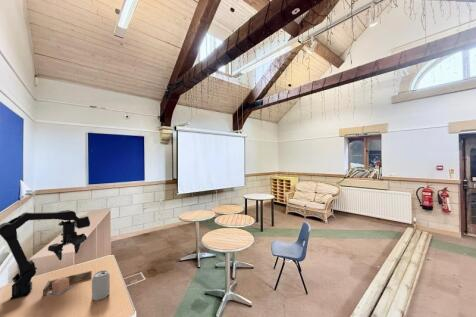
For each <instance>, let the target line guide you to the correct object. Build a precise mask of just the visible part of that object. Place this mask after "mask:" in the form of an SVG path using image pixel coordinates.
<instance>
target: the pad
mask: <svg viewBox="0 0 476 317" xmlns="http://www.w3.org/2000/svg"><path fill="white" fill-rule="evenodd" d="M71 288H73V286H71V285H69V288H67V289H66V290H64V291H62V292H60V293H55V292H52V290H51V291H50V292H49V291H48V294H52V295H57V296H60V295H61V294H63V293H65V292H66V291H68V290H69V289H71Z"/></svg>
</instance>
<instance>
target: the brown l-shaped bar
mask: <svg viewBox="0 0 476 317" xmlns="http://www.w3.org/2000/svg"><path fill="white" fill-rule="evenodd" d="M92 274H93V272H92V270H89V271H85V272H80V273H76V274H72V275H69V276H68V275H66V276H65V277H64V278H69V284H70V283H75V282H78V281H82V280H86V279H92V278H93V275H92ZM60 278H61V277H60ZM60 278H56V279H55V278H54V279H51V280H48V281H47V283H46V285H45V286H44V287H43V289H42V297H46V296H47V295H48V294H49V291H50V289H52V282H54V281H56V280H58V279H60Z"/></svg>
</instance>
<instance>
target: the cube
mask: <svg viewBox="0 0 476 317" xmlns="http://www.w3.org/2000/svg"><path fill="white" fill-rule="evenodd" d="M57 279H58V280H56V281H54V282H52V288H51V291H52V292H55V293H60V292H62V291H64V290H66V289H67V288H69V286H70V283H69V278H64V277H60V279H59V278H57ZM66 291H67V290H66Z"/></svg>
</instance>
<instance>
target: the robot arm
mask: <svg viewBox="0 0 476 317" xmlns="http://www.w3.org/2000/svg"><path fill="white" fill-rule="evenodd" d="M42 220H43V221H44V220H45V221H47V220H59V221H60V220H61V221H60V222H59V223H58V224H57V225H58V226H59V227H62V233H60V236H62V239H61V240H60V243H58V242H56V243H53V244H51V245H49V246H48V247H47V251H48V252H53V254H54V255H56V258H58V261H62V258H63V251H64V248H63V247H65V246H67V245H70V244H72V245H73V248H74V253H75V254H78V252H79V251H80V247H81V245H82V244H83V243H84V242H85V241H87V240H88V237H87V235H85V233H84V232H83V233H81V234H78V233H77V231H76V228H77V230H80V229H83V228H84V229H85V228H88V227H90V226H91V221H90V218H89V216H83V217H78V216H77V213H76V212H75V211H74V210H70V209H64V210H61V211H53V212H52V211H51V212H49V211H48V212H47V211H46V212H45V211H44V212H28V211H26V212H23V213H21V214H20V215H19V216H16V217H14V218H13V219H10V220H9V221H7V222H2V223H0V236H1V237H2V238H3V240H4V241H5V242H6V245H7V246H8V248H9V250H10V253H11V254H12V256H13V259H14V260H15V262H16V269H17V273H16V274H15V275H14V276H13V277H12V278H11V280H12V282H13V284H12V285H11V297H10V298H9V299H10V300H14V299H13V298H15V299H18V298H22V297H25V296H29V294H30V292H32V290H33V282H32V278H33V277H34V276H35V275H36V273H37V270H38V268H37V266H36V264H35V262H34V261H33V260H32V259H30V260H29V261H28V259H27V256H26V255H25V252H24V250H23V247H22V246H21V243H20V242H19V239H18V232H17V229H19V228H21V227H22V226H23V225H25V223H27V222H29V221H42Z"/></svg>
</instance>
